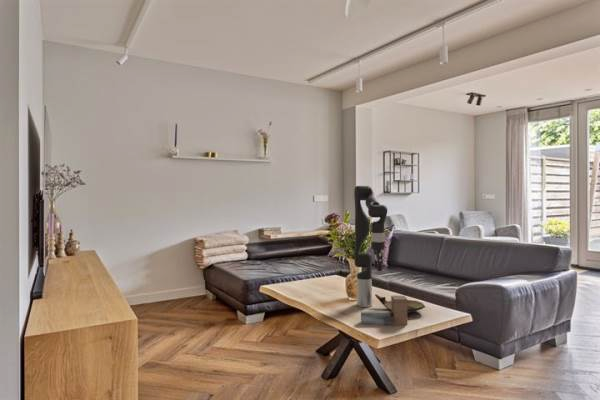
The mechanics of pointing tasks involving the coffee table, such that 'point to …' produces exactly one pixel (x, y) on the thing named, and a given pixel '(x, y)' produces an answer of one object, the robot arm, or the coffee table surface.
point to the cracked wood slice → (411, 304)
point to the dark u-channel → (397, 311)
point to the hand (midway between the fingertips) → (378, 269)
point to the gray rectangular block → (374, 317)
